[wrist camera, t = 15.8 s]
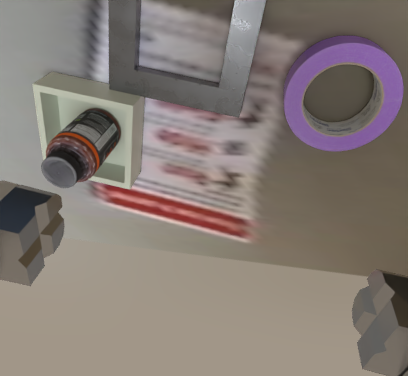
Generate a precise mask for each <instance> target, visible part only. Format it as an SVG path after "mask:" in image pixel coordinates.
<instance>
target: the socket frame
mask: <svg viewBox="0 0 408 376" xmlns="http://www.w3.org/2000/svg"><path fill="white" fill-rule="evenodd" d="M265 3H266V0H235V2H234V8H233V13H232V19H231V24H230V30H229V35H228V41H227V46H226V51H225V57H224V62H223V68H222V73H221V79H220V83H215V82H211V81H206V80H201V79H197V78H192V77H187V76H183V75H178V74H173V73H168V72H164V71H159V70H154V69H150V68H145V67H140V66H138V61H139V37H140V12H141V0H109V89H110V90H115V91H119V92H124V93H128V94H133V95H138V96H142V97H147V98H151V99H156V100H161V101H165V102H170V103H174V104H179V105H184V106H188V107H193V108H197V109H202V110H207V111H211V112H216V113H220V114H225V115H229V116H234V117H239V116H240V111H241V107H242V103H243V98H244V94H245V90H246V85H247V81H248V77H249V72H250V68H251V64H252V59H253V55H254V51H255V46H256V42H257V38H258V33H259V29H260V25H261V20H262V16H263V12H264V7H265Z"/></svg>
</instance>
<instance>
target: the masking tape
mask: <svg viewBox="0 0 408 376" xmlns="http://www.w3.org/2000/svg"><path fill="white" fill-rule="evenodd" d="M344 64H353V65H359V66H362V67H364V68H366V69H368V70H369V71H370V72H372V74H373V78H374V90H373V94H372V97H371V99H370V101H369V102H368V104H367V105H366V106H365V108H364V109H363V110H362V111H361V112H359V113H358V114H357V115H355V116H353V117H352V118H350V119H347V120H344V121H340V122H326V121H322V120H319V119H317V118H315V117H314V116H312V115H311V114H310V113H309V112H308V111H307V109H306V108H305V106H304V104H303V100H304V95H305V92H306V90H307V88H308V86H309V85H310V83H311V82H312V81H313V80H314V79H315V78H316V77H317V76H318V75H319V74H320V73H322V72H323V71H325V70H327V69H329V68H331V67H334V66H337V65H344ZM402 98H403V80H402V76H401V73H400V70H399V68H398V66H397V65H396V63H395V62H394V61H393V59H392V58H391V57H390V56H389V55H388V54H387V53H386V52H385V51H384V50H383V49H382V48H381V47H380V46H378V45H377V44H376V43H374V42H372V41H370V40H368V39H366V38H362V37H358V36H336V37H331V38H328V39H325V40H322V41H320V42H318V43H316V44H314V45H313V46H311V47H310V48H308V49H307V50H306V51H305V52H303V53H302V54H301V55H300V57H299V58H298V59H297V60H296V61H295V62H294V64H293V65H292V67H291V69H290V70H289V72H288V75H287V77H286V81H285V85H284V111H285V116H286V120H287V122H288V124H289V126H290V128H291V130H292V131H293V132H294V134H295V135H296V136H297V137H298V138H299V139H300V140H302V141H303V142H305V143H306V144H308V145H310V146H312V147H314V148H317V149H321V150H325V151H345V150H351V149H354V148H358V147H360V146H363V145H365V144H367V143H369V142H371V141H372V140H374V139H375V138H377V137H378V136H379V135H381V134H382V133H383V132H384V131H385V130H386V129H387V128H388V127H389V125H390V124H391V123H392V122H393V120H394V119H395V117H396V115H397V113H398V111H399V109H400V106H401V103H402Z"/></svg>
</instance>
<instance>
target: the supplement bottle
mask: <svg viewBox="0 0 408 376" xmlns="http://www.w3.org/2000/svg"><path fill="white" fill-rule="evenodd" d="M120 133H121V131H120V127H119V125H118V123H117V121H116V120H115V118H114V117H113V116H112V115H110V114H109V113H108V112H106V111H104V110H101V109H88V110H86V111H84V112H83V113H81V114H80V115H79V116H77V118H75V119H74V120H73V121H72V122H71V123H70V124H68V125H67V126H66V127H65V128H64V129H63V130H62V131H61V132H60V133H58V134H57V135H56V136H55V137H54V138H53V139H52V140H51V141H50V142H49V144H48V146H47V148H46V158H45V159H44V161H43V162H42V165H41V169H42V172H43V175H44V176H45V178H46V179H47V180H48V181H49V182H50V183H52V184H53V185H55V186H57V187H61V188H69V187H72V186H73V185H74V184H75V183H76V182H83V181H86V180H88V179H90V178H91V177H92V176H93V175H94V174H95V172H96V171H97V170H98V169H99V167H100V166H101V165H102V164H103V162H104V161H105V160H106V158H107V157H108V156H109V154H110V153H111V152H112V151H113V150H114V148H115V147H116V146H117V144H118V142H119V140H120V135H121V134H120Z"/></svg>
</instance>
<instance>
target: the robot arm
mask: <svg viewBox="0 0 408 376" xmlns="http://www.w3.org/2000/svg"><path fill="white" fill-rule="evenodd" d="M61 208H62V202H61V196H59V195H58V194H55V193H51V192H47V191H43V190H39V189H36V188H32V187H28V186H24V185H18V184H15V183H11V182H7V181H0V280H5V281H9V282H14V283H19V284H23V285H28V286H31V284H32V283H33V281H34V280H35V279H36V277H37V276H38V274H39V273H40V271H41V270H42V269H43V268H44V266H45V265H44V258H45V257H47V256H49V255H51V254H53V253H54V252H55V250H56V249H57V248H58V246H59V245H60V242H61V239H62V237H63V234H64V219H63V218H62V217H61V215H60V214H59V213H58V211H59V210H60V209H61ZM368 284H369V286H368V287H366V288H363V289H361V290H360V291H359V292H358V294H357V296H356V297H355V300H354V304H353V308H352V318H353V323H354V327H355V328H356V329H357V331H358V332H359V333H360V334H361V338H360V339H359V341H358V342H357V344H358V350H359V355H360V359H361V365H362V369H365V370H369V371H372V372H375V373H379V374H383V375H386V376H408V276H405V275H401V274H396V273H392V272H387V271H383V270H378V269H376V270H374V271H373V272H372V273H371V274H370V276H369V277H368Z"/></svg>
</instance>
